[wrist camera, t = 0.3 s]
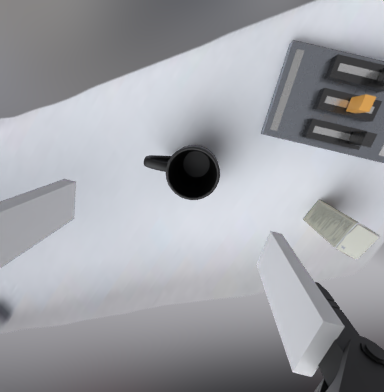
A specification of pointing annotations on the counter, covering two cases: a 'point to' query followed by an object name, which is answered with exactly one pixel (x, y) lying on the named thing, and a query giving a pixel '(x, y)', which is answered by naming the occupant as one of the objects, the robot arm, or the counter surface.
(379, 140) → the panel
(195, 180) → the mug
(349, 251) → the box
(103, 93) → the counter surface
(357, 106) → the breaker handle
